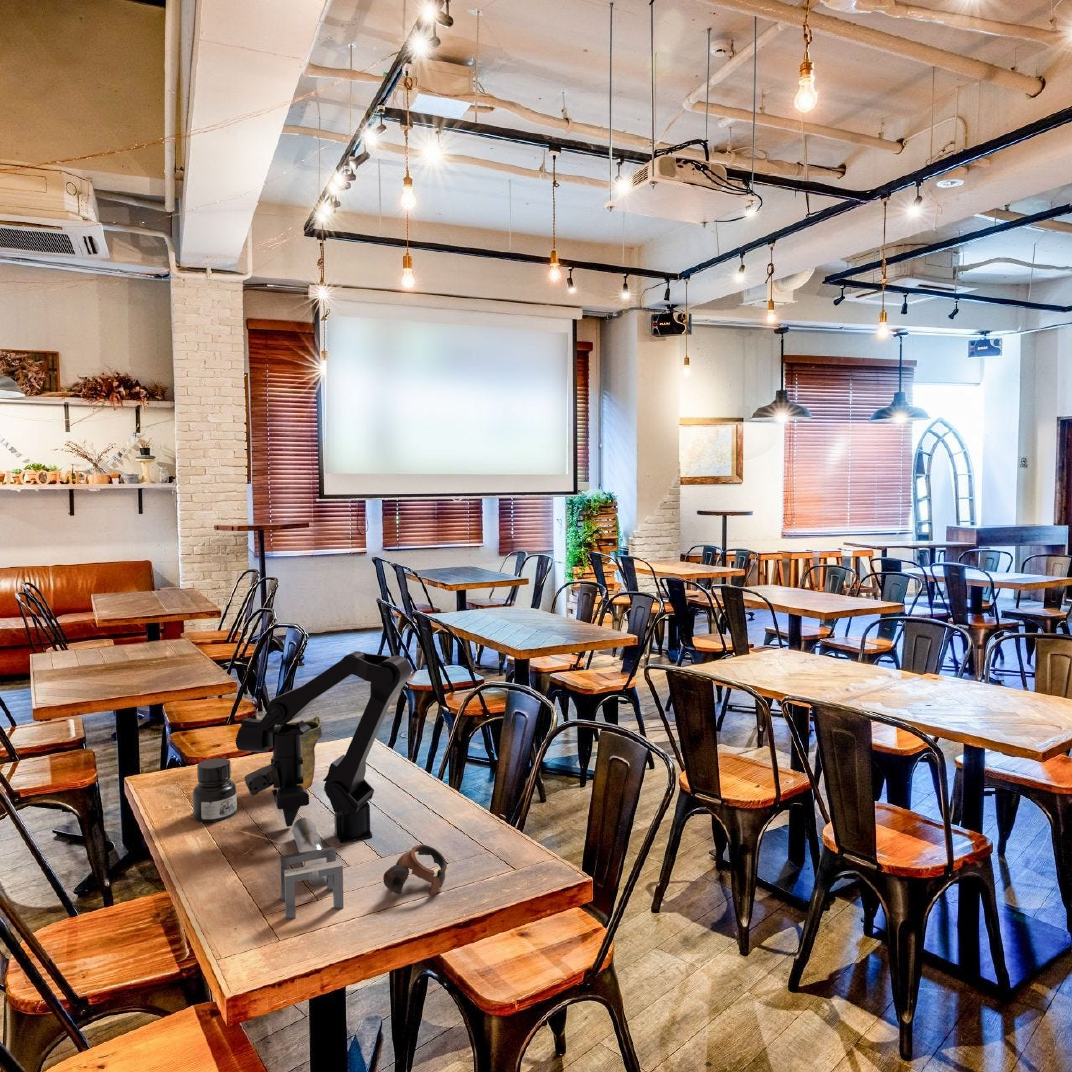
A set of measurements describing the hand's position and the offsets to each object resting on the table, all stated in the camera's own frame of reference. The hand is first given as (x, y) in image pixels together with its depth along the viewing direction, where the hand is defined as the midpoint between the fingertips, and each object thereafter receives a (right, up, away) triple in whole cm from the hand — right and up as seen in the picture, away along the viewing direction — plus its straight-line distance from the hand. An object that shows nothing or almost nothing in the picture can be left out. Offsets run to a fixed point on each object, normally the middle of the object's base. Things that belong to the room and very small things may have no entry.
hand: (289, 825), depth 170 cm
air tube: (+7, -1, -15) cm, 16 cm away
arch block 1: (+12, -2, -27) cm, 30 cm away
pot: (-6, 0, +24) cm, 25 cm away
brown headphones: (+28, -3, -26) cm, 39 cm away
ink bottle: (-19, -1, +8) cm, 20 cm away
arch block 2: (+15, -3, -34) cm, 37 cm away
